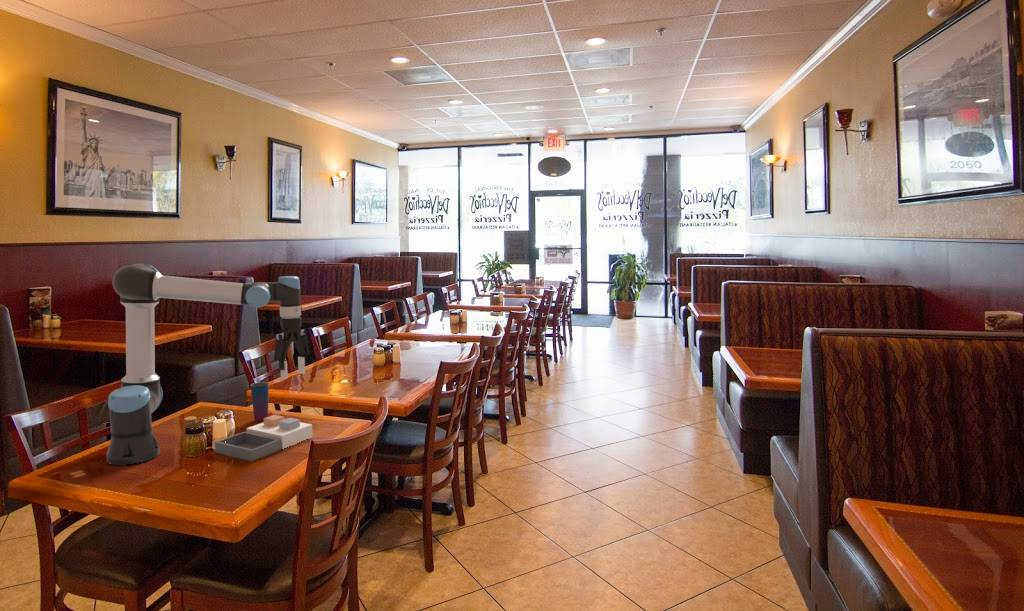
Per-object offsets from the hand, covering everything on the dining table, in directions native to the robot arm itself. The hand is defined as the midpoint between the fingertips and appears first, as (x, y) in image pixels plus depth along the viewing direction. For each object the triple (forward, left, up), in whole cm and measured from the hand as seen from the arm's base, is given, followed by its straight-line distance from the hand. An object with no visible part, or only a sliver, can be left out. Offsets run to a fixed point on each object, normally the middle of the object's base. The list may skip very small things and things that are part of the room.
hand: (293, 375), depth 225 cm
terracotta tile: (0, -10, -16) cm, 19 cm away
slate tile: (+8, -10, -16) cm, 21 cm away
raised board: (+4, -11, -21) cm, 24 cm away
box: (+4, -25, -21) cm, 33 cm away
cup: (-21, +2, -21) cm, 30 cm away
